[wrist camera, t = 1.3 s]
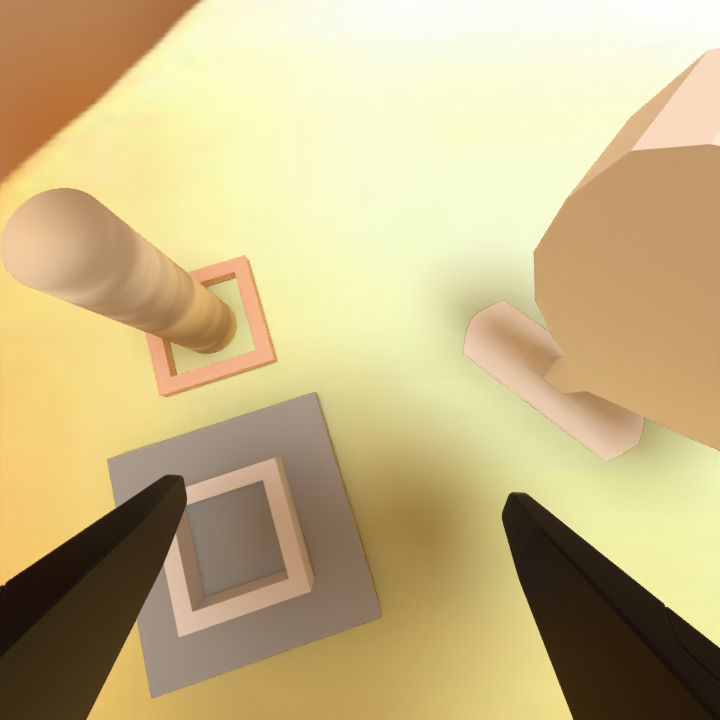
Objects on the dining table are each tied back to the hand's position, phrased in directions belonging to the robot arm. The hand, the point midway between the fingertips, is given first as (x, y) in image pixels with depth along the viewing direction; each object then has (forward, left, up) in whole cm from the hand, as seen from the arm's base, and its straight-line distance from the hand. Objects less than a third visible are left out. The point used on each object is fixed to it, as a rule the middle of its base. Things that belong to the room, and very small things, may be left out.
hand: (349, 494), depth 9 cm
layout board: (-9, -3, -13) cm, 16 cm away
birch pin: (-8, +11, -13) cm, 19 cm away
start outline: (-8, +11, -13) cm, 19 cm away
